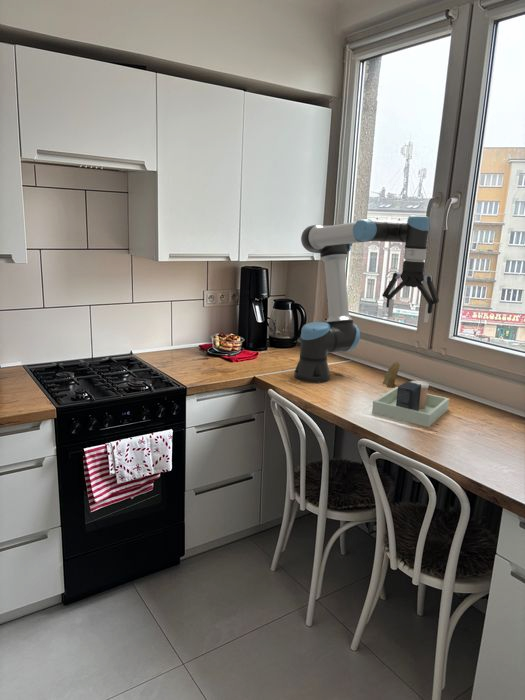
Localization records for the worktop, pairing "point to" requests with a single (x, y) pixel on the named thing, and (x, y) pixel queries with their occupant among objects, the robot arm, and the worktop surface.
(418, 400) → the box
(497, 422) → the worktop surface
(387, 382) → the rock
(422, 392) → the jar
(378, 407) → the tray
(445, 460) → the worktop surface
